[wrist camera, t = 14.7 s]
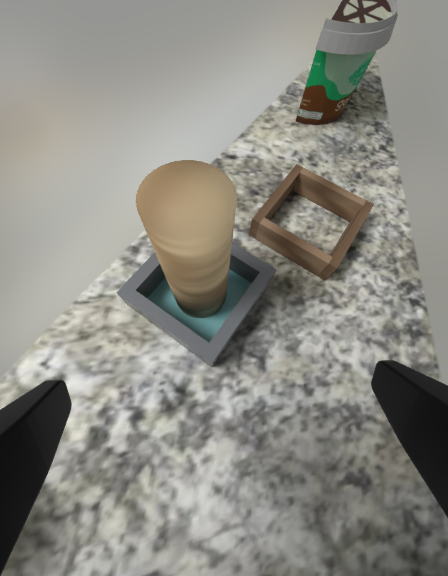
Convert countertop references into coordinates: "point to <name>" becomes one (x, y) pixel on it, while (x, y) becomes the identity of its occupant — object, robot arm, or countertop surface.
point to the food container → (345, 56)
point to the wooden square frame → (322, 195)
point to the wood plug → (191, 231)
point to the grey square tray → (199, 331)
